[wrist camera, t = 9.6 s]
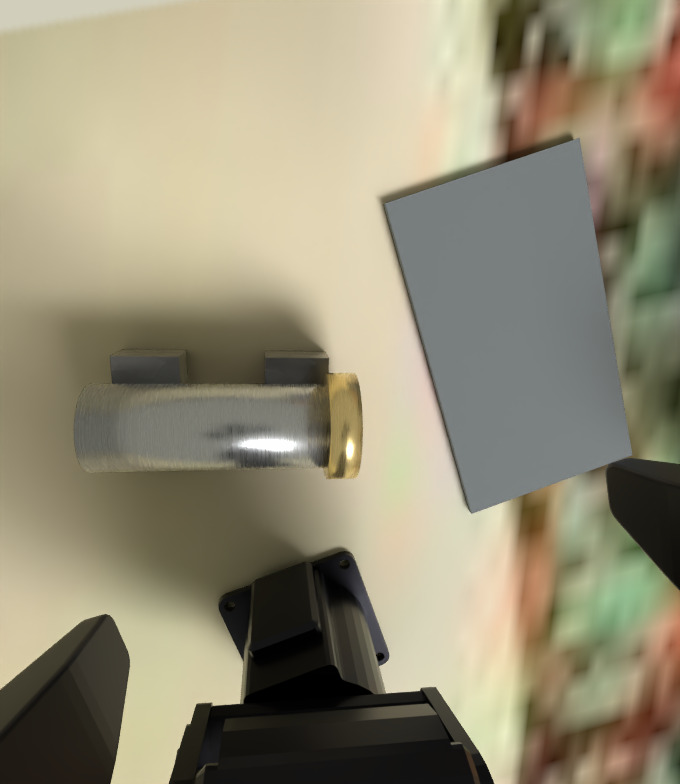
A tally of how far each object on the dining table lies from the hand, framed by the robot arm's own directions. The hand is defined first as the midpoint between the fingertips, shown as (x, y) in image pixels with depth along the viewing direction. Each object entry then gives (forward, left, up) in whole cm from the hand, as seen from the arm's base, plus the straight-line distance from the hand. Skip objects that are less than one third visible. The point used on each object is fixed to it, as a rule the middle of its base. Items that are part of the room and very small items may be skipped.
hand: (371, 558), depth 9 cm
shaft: (+1, +3, -12) cm, 13 cm away
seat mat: (-1, -9, -12) cm, 15 cm away
